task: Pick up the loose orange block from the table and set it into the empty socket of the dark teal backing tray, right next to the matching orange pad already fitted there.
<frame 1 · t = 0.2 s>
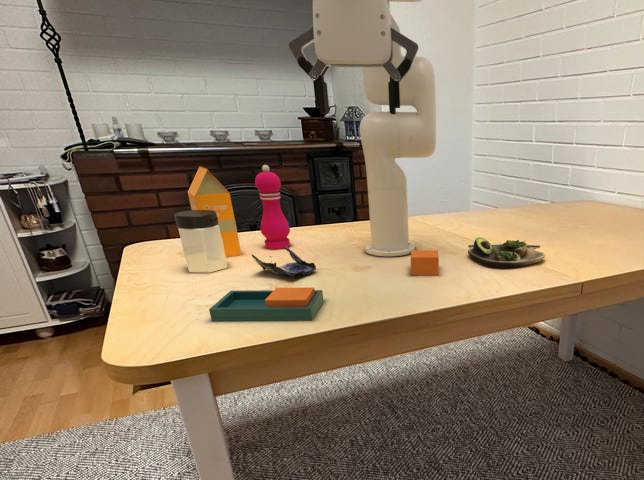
hand: (359, 113, 67), 31 cm above the table, tool pointing down, fingers open, 9 cm apart
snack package: (287, 274, 102), on the table
backing tray: (270, 310, 82), on the table
pepper mill: (278, 247, 124), on the table
fitted pad: (292, 310, 82), resting on backing tray
salad plate: (502, 259, 114), on the table
orange block: (425, 271, 104), on the table
orange juice: (221, 254, 117), on the table
jar: (208, 268, 105), on the table
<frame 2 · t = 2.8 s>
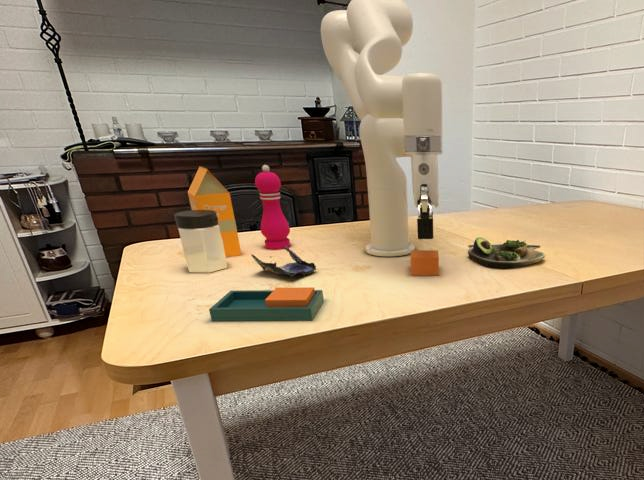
hand: (425, 234, 100), 8 cm above the table, tool pointing down, fingers open, 9 cm apart
nothing on the table moved.
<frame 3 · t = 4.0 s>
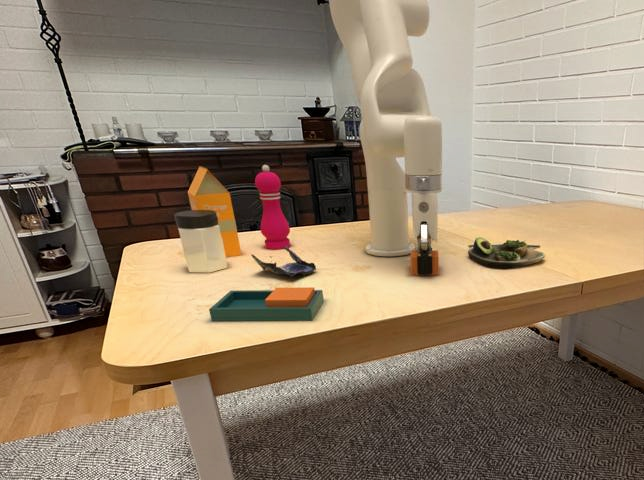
hand: (425, 268, 104), 1 cm above the table, tool pointing down, fingers closed on orange block, 6 cm apart
orange block: (425, 271, 104), on the table, touching gripper
everything else where it was.
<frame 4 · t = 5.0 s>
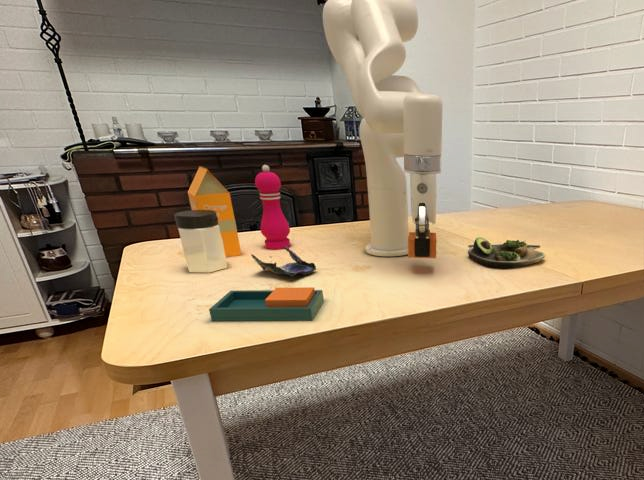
hand: (422, 251, 103), 4 cm above the table, tool pointing down, fingers closed on orange block, 6 cm apart
orange block: (422, 253, 103), point 4 cm above the table, touching gripper
everything else where it was.
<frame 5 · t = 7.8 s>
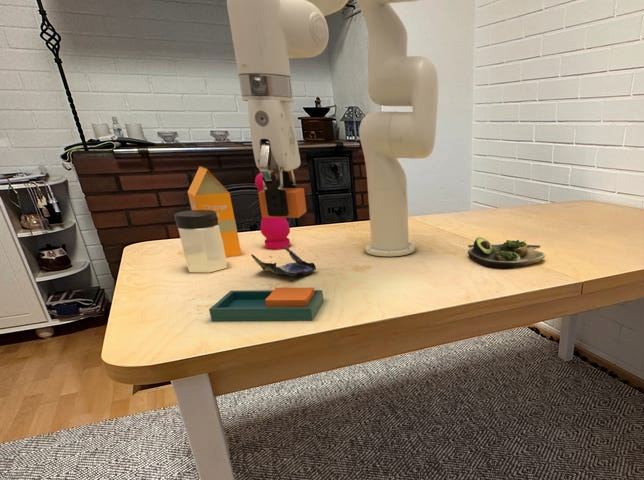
hand: (284, 211, 79), 16 cm above the table, tool pointing down, fingers closed on orange block, 6 cm apart
orange block: (285, 214, 80), point 15 cm above the table, touching gripper
everything else where it was.
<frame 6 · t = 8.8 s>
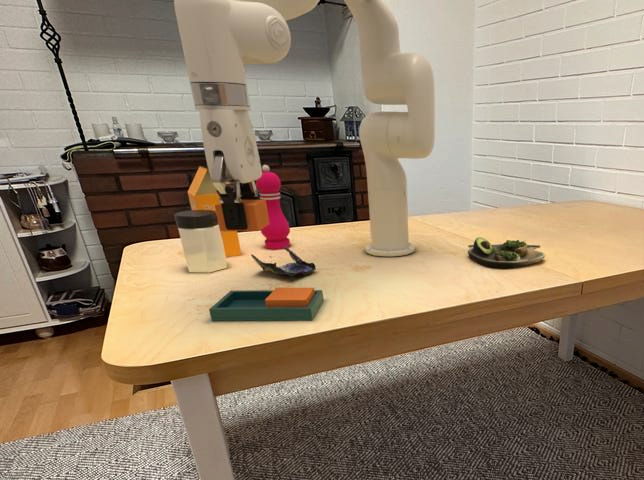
hand: (244, 224, 76), 15 cm above the table, tool pointing down, fingers closed on orange block, 6 cm apart
orange block: (245, 227, 77), point 14 cm above the table, touching gripper
everything else where it was.
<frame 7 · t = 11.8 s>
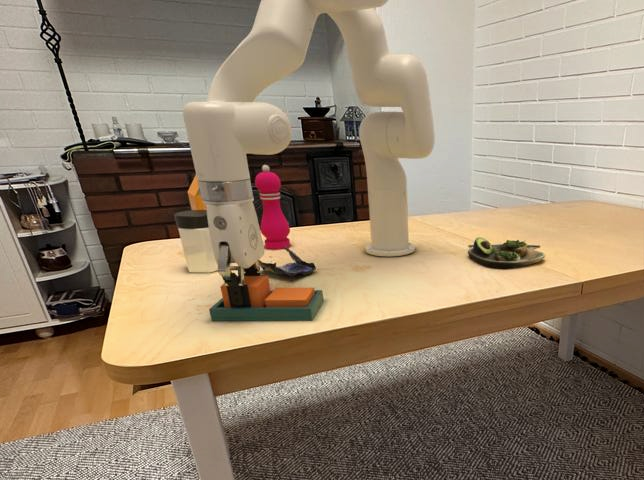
hand: (248, 300, 81), 2 cm above the table, tool pointing down, fingers closed on orange block, 6 cm apart
orange block: (249, 303, 81), point 1 cm above the table, touching gripper
everything else where it was.
when the fingers open (3 cm above the table, at t = 19.9 s): orange block drops 2 cm, resting on backing tray.
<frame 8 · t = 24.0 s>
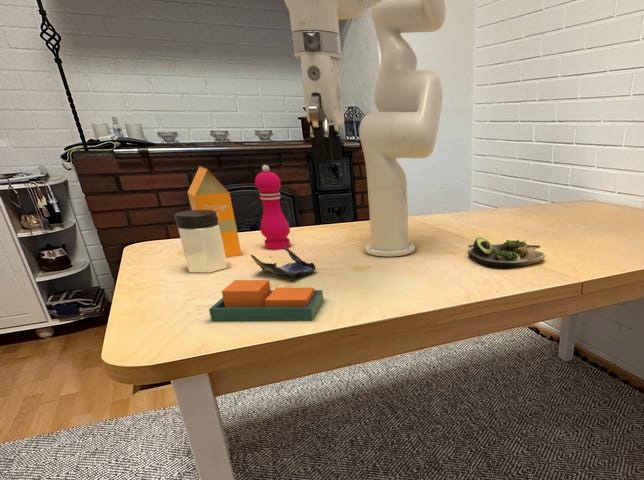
hand: (328, 161, 84), 23 cm above the table, tool pointing down, fingers open, 9 cm apart
orange block: (250, 307, 82), point 1 cm above the table, touching backing tray
everything else where it was.
at the end: orange block 0.4 cm from the target spot in the backing tray, point 0.6 cm above the backing tray's base; orange block tilted 0°; the gripper is holding nothing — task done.
